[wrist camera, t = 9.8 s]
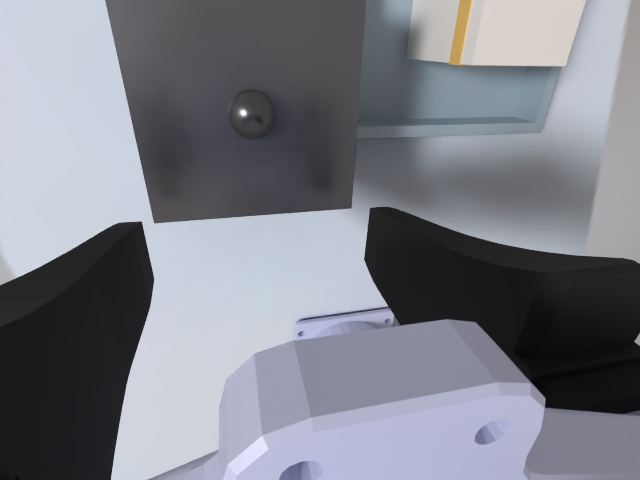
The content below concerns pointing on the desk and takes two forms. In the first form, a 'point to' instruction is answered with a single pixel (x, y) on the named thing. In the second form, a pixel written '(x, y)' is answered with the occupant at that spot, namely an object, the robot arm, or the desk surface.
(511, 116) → the tray
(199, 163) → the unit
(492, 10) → the part block
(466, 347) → the robot arm
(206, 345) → the desk surface
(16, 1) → the desk surface
